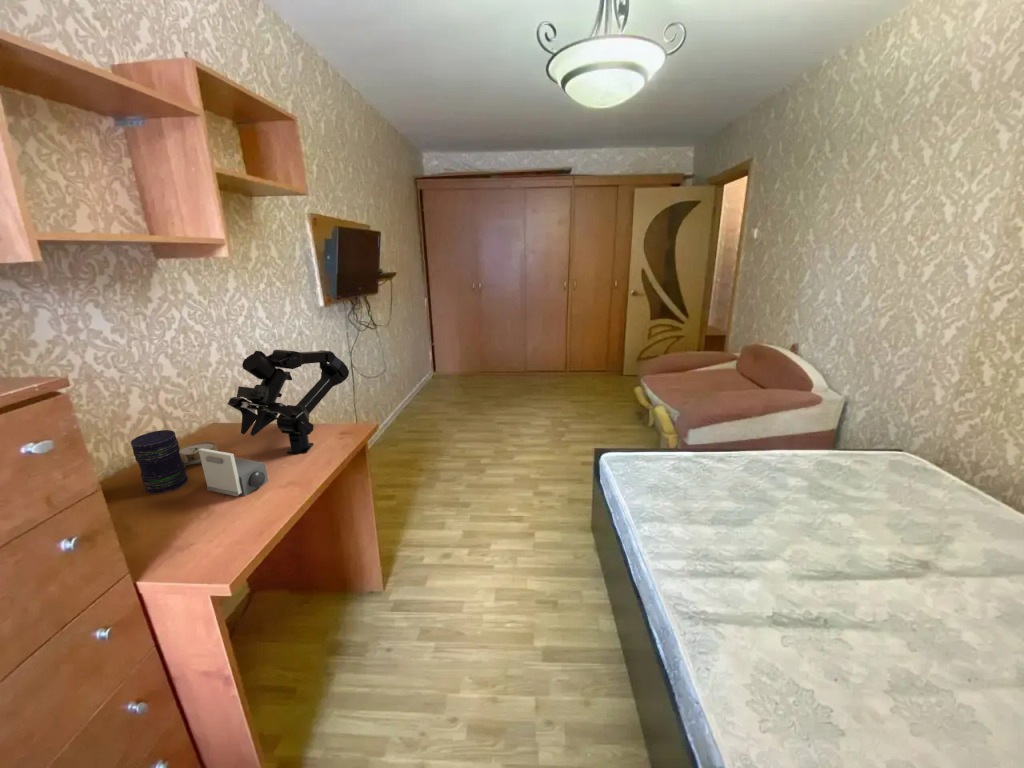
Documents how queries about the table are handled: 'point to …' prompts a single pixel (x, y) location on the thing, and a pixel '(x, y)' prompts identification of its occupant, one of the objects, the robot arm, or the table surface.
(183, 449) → the alarm clock
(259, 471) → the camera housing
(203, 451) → the door
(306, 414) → the robot arm
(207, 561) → the table surface
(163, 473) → the storage jar
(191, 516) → the table surface
